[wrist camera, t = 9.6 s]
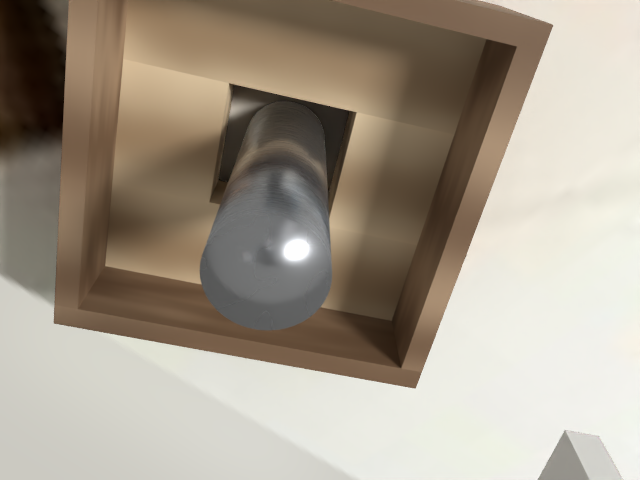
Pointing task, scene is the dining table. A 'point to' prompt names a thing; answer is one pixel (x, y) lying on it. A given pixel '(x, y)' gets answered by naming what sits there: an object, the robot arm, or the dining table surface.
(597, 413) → the dining table surface
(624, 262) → the dining table surface
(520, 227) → the dining table surface
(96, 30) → the box
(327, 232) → the peg
